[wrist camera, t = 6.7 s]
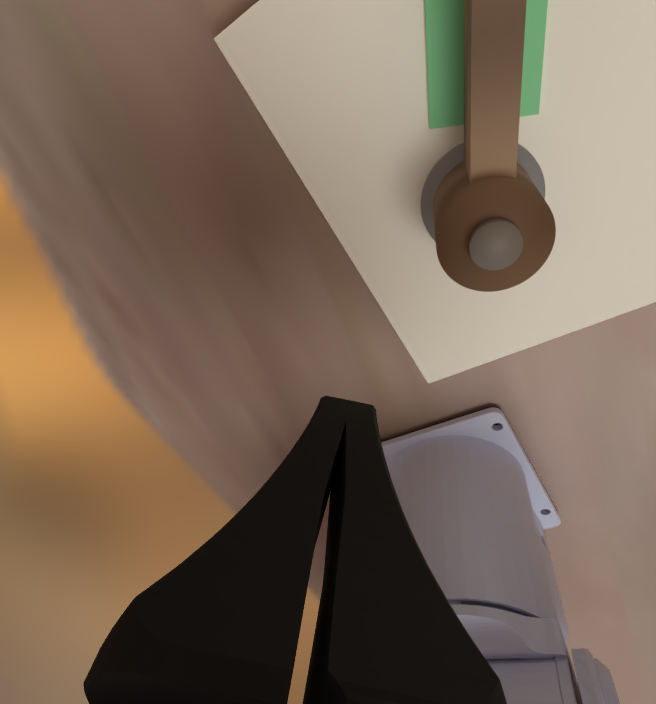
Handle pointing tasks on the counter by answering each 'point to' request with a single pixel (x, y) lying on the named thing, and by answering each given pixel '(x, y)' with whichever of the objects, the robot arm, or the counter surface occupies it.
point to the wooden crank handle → (492, 163)
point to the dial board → (448, 151)
